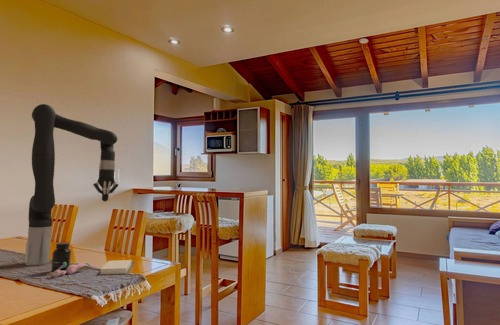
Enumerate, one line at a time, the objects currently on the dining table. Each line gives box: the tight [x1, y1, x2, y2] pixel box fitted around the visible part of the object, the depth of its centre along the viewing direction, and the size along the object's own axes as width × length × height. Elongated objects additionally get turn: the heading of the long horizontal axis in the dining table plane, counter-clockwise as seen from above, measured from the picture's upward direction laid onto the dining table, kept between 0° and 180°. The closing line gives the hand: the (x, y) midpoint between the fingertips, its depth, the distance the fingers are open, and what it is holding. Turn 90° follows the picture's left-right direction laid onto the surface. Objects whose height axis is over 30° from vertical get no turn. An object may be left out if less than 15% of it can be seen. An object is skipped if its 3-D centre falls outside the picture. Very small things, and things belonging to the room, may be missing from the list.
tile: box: [100, 259, 133, 274], centre depth 138 cm, size 2×10×15 cm
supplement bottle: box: [50, 241, 72, 273], centre depth 135 cm, size 7×7×12 cm
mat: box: [96, 261, 136, 277], centre depth 140 cm, size 22×12×1 cm, turn 13°
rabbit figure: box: [46, 262, 89, 279], centre depth 130 cm, size 6×6×15 cm
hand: (104, 201), depth 168 cm, fingers closed
